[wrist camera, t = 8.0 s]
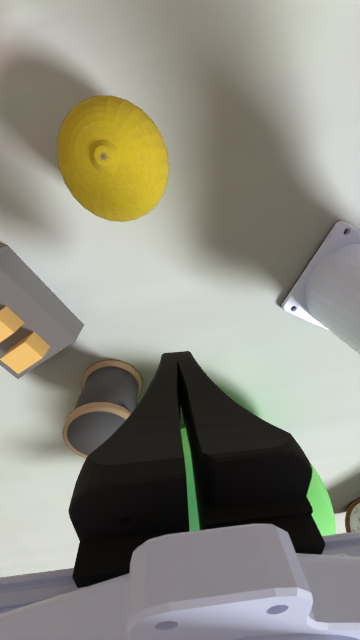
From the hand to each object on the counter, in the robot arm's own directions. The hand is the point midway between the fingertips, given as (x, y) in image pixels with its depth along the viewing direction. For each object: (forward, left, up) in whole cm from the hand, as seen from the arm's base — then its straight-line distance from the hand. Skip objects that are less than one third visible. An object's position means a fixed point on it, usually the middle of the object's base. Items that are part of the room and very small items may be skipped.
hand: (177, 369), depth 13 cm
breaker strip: (+11, +6, -10) cm, 16 cm away
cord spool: (+1, +10, -10) cm, 14 cm away
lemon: (+6, -7, -10) cm, 14 cm away
